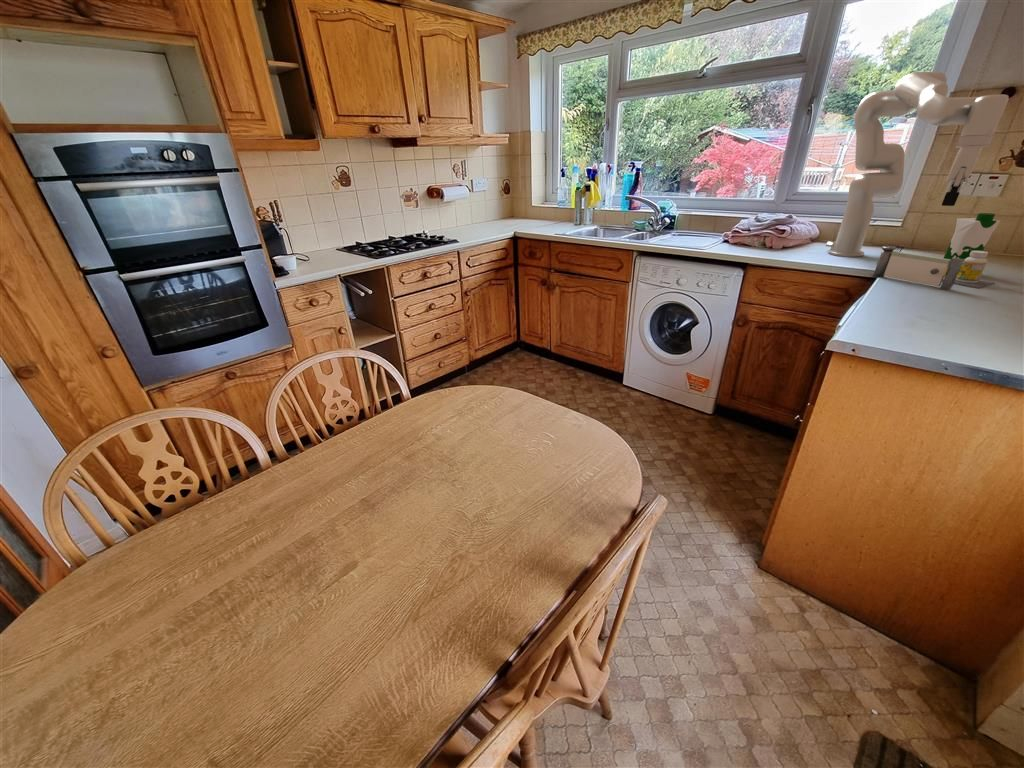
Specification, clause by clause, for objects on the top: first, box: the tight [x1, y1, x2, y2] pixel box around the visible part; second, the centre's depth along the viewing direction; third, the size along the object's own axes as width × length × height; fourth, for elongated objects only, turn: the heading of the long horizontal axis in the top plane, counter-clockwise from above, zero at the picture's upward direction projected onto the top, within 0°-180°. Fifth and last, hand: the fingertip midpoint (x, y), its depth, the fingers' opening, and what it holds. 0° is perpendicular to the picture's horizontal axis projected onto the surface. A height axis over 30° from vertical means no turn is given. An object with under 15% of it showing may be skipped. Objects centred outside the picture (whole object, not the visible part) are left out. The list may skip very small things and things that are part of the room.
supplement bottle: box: [956, 250, 989, 283], centre depth 141 cm, size 5×5×10 cm
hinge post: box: [873, 245, 897, 278], centre depth 152 cm, size 4×4×10 cm
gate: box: [884, 251, 952, 288], centre depth 144 cm, size 16×2×8 cm, turn 24°
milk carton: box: [943, 212, 1001, 273], centre depth 151 cm, size 9×9×20 cm
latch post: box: [939, 258, 964, 291], centre depth 136 cm, size 3×3×10 cm
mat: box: [942, 277, 996, 289], centre depth 143 cm, size 10×10×1 cm
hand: (947, 205), depth 143 cm, fingers closed
